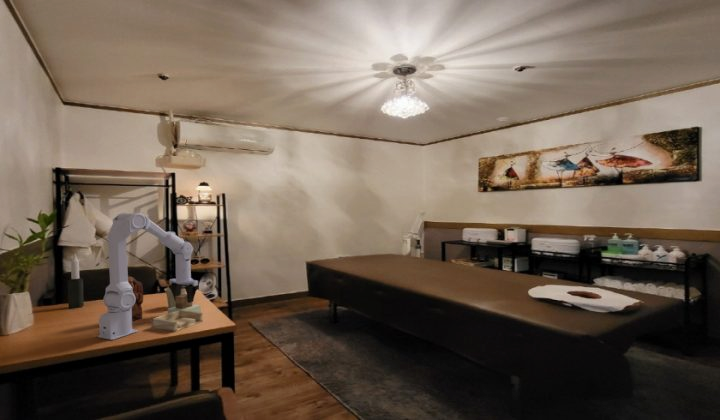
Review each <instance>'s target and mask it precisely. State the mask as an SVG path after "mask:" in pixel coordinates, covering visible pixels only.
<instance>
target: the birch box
mask: <svg viewBox="0 0 720 420" xmlns="http://www.w3.org/2000/svg"><path fill="white" fill-rule="evenodd" d="M150 320H151V321H150V322H151V323H150V324H151V329H154V330H160V331H166V332H172V333H176V332H178V331H181V330H183V329H186V328H189V327H192V326H194V325H197V324H200V323H201V322H203V312H193V311H185V310H178V311H175V312H172V313H169V314H168V313H166V314H163V315H159V316H156V317H153V318H151V319H150ZM199 322H200V323H199Z"/></svg>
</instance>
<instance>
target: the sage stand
mask: <svg viewBox="0 0 720 420" xmlns="http://www.w3.org/2000/svg"><path fill="white" fill-rule="evenodd" d="M178 310H185V311H193V312H201V304H200V305H199V304H193V303H192V306H191V307H188V308H185V309H178V308H176V307H172V308H169V307H168V308H167V314H169V313H172V312H175V311H178ZM201 313H202V312H201Z"/></svg>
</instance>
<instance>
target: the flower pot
mask: <svg viewBox="0 0 720 420" xmlns="http://www.w3.org/2000/svg"><path fill="white" fill-rule="evenodd" d="M186 286H187V285H182V288H181V295H183V294H186V290H185V287H186ZM163 290H164V291H165V294H166V299H167V305H168V306H167V307H168V309H169V308H172V307H176V301H175V299H174V296H173V293H172V291H171V290H170V288H169V287H166V288H164V289H163Z"/></svg>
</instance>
